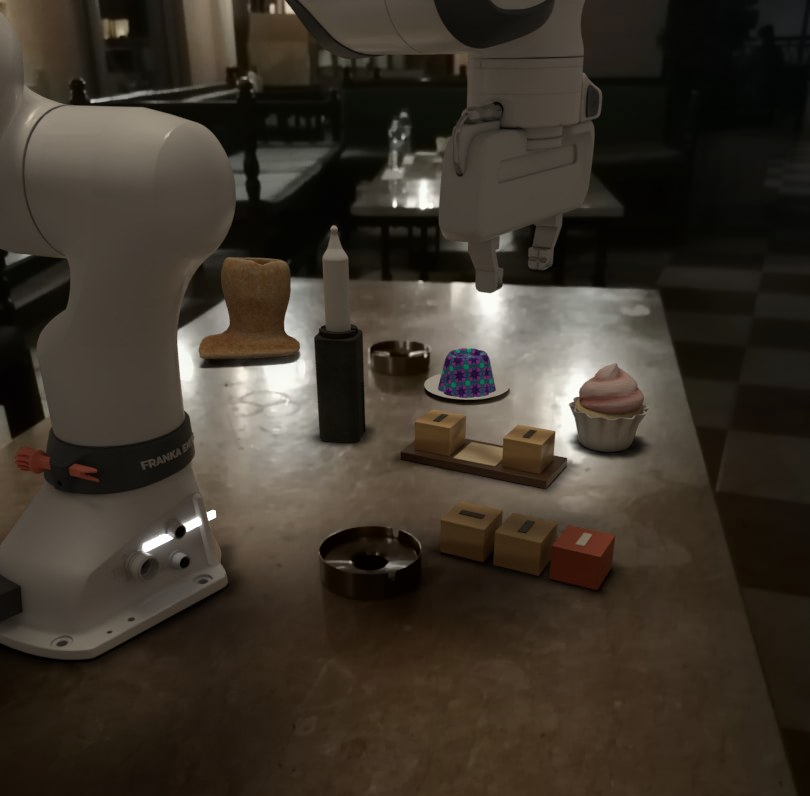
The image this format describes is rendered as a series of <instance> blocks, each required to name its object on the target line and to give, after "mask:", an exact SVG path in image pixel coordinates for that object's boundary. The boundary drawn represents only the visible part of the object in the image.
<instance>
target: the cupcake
mask: <svg viewBox="0 0 810 796" xmlns="http://www.w3.org/2000/svg"><path fill="white" fill-rule="evenodd" d="M618 365H619V364H618V363H617V362H615V363H611V364H607V365H605V366H603V367H601V368H600V369H599V370H597V372H596V373H595V374H594V376H593V377H591V378H589V379H588V380H586V381H585V382H583V384H582V385H581V387H580V388H579V391H578V396H575V397H573V398H572V399H573V401H571V402H569V403H568V406H569V408H570V410H571V412H572V415H573V418H574V422H575V426H576V432H577V439H578V441H579V443H580V444H581V445H582V446H583V447H585V448H587V449H589V450H593V451H597V452H604V453H605V452H606V453H613V452H614V453H615V452H620V451H625V450H627V449H628V448H630V447H631V445H632V444H633V442H634V439H635V437H636V434H637V430H638V427H639V425H640V423H641V422H642V420H643V419H644V418H645V416H646V415H647V412H648V410H649V409H650V406H649V405H647V404H644V401H645V395H644V394H643V392H642V390H641V389H640V388H639V387H638V383H637V380H636V379H635V378H634V377H633V376H631V375H630V374H629V373H628V372H626V371H625V370H623V368H621V367H619V366H618Z"/></svg>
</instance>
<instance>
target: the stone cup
mask: <svg viewBox="0 0 810 796" xmlns="http://www.w3.org/2000/svg"><path fill="white" fill-rule="evenodd" d="M291 274H292V273H291V269H290V266H289V264H288V263H287V262H286V261H285V260H282V259H278V258H277V259H276V258H266V257H225V259H224V260H223V263H222V266H221V273H220V285H221V290H222V295H223V298H224V302H225V306H226V309H227V314H228V319H229V325H228V327H227V328H226V329H225V330H224V331H222V332H221V333H216V334H210V335H206V336H204V337H203V339H201V341H200V343H199V347H198V354H199V355H198V356H199V358H200V359H203V360H247V359H252V360H253V359H266V358H267V359H268V358H277V357H284V356H292V355H295V354H297V353H298V352H299V351H300V348H301V343H300V341H299V340H297V339H296V338H295V337H293V336H292V335H289V334H287V332H286V329H285V319H286V313H287V310H288V306H289V303H290V299H291V293H292V291H291V289H292V287H291V286H292V285H291V280H292V279H291V278H292V277H291Z"/></svg>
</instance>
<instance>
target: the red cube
mask: <svg viewBox="0 0 810 796" xmlns="http://www.w3.org/2000/svg"><path fill="white" fill-rule="evenodd" d="M615 542H616V534H613V533H608V532H602V531H599V530H594V529H589V528H585V527H581V526H576V525H572V524H568V525H566V526H565V528H564V529H563V531H562V532H561V533H560V534H559V536H558V537H557V538H556V541H555V542H554V544H553V545H552V551H551V560H550V566H549V580H552V581H558V582H561V583H566V584H569V585H574V586H577V587H581V588H585V589H589V590H594V591H598V590H599V588H600V587H601V585H602V583H603V582H604V581H605V579H606V577H607V576H608V574H609V572H610V571H611V570H612V567H613V560H614V559H613V557H614V550H615Z"/></svg>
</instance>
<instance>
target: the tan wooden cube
mask: <svg viewBox="0 0 810 796" xmlns="http://www.w3.org/2000/svg"><path fill="white" fill-rule="evenodd" d="M558 524H559V523H558V522H557V521H553V520H548V519H544V518H539V517H536V516H530V515H526V514H523V513H518V512H512V513H511V514H510V515H509V516H508V517H507V519H506V520H505V521H503V522H502V525H501V526H500V527H499V528H498V529H497V530H496V532H495V539H494V551H493V566H496V567H500V568H503V569H504V568H505V569H509V570H512V571H517V572H520V573H521V572H522V573H525V574H528V575H533V576H537V577H539V576H541V574H542V572H543V571H544V570H545V568H546V567H547V566H548V564H549V563H551V551H552V545H553V544H554V542H555V541H556V540H557V535H558Z"/></svg>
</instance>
